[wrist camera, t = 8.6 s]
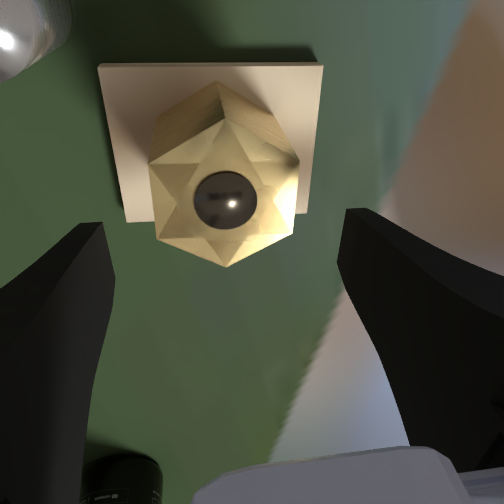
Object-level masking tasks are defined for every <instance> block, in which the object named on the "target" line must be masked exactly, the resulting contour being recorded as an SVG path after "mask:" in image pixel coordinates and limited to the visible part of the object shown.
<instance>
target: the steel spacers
mask: <svg viewBox="0 0 504 504" xmlns="http://www.w3.org/2000/svg"><path fill="white" fill-rule="evenodd" d="M76 23H77V7H76V2H75V0H0V82H4V81H6V80H9V79H11V78H12V77H14V76H16V75H17V74H19V73H20V72H22V71H23V70H25V69H26V68H28V67H29V66H31V65H32V64H34V63H35V62H37V61H39V60H40V59H42V58H43V57H45V56H46V55H48V54H49V53H51V52H52V51H54V50H55V49H57V48H58V47H60V46H61V45H63V44H64V43H66V42H67V41H68V40H69V39H70V37H71V36H72V34H73V32H74V30H75V27H76Z"/></svg>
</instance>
